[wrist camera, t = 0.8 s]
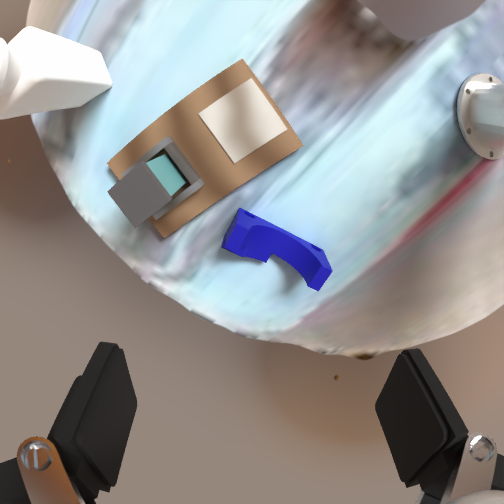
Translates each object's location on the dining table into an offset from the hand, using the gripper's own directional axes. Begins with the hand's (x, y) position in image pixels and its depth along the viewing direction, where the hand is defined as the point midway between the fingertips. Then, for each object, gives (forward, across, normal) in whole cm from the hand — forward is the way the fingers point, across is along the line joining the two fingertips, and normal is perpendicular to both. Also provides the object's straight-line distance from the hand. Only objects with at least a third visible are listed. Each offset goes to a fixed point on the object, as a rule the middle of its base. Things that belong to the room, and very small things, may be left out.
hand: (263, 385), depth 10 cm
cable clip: (+30, -4, +7) cm, 31 cm away
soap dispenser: (+30, +21, -14) cm, 39 cm away
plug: (+28, +10, -1) cm, 30 cm away
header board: (+30, +6, -4) cm, 30 cm away
